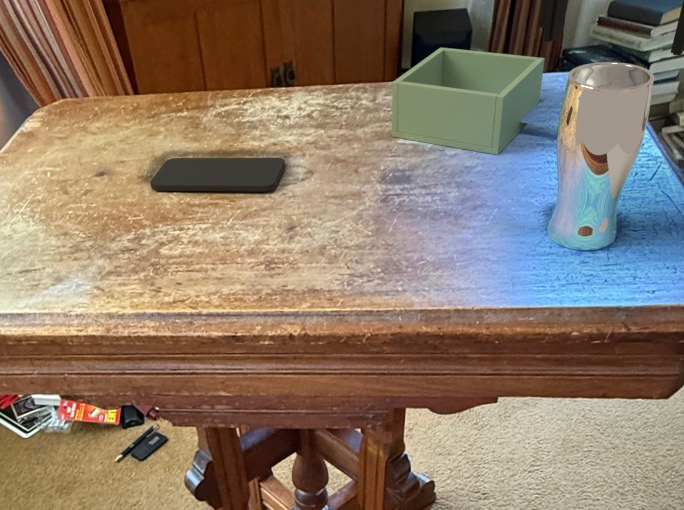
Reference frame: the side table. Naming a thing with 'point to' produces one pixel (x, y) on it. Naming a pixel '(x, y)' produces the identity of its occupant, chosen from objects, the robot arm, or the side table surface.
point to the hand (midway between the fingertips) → (613, 43)
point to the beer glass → (597, 149)
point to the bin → (466, 99)
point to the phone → (218, 174)
